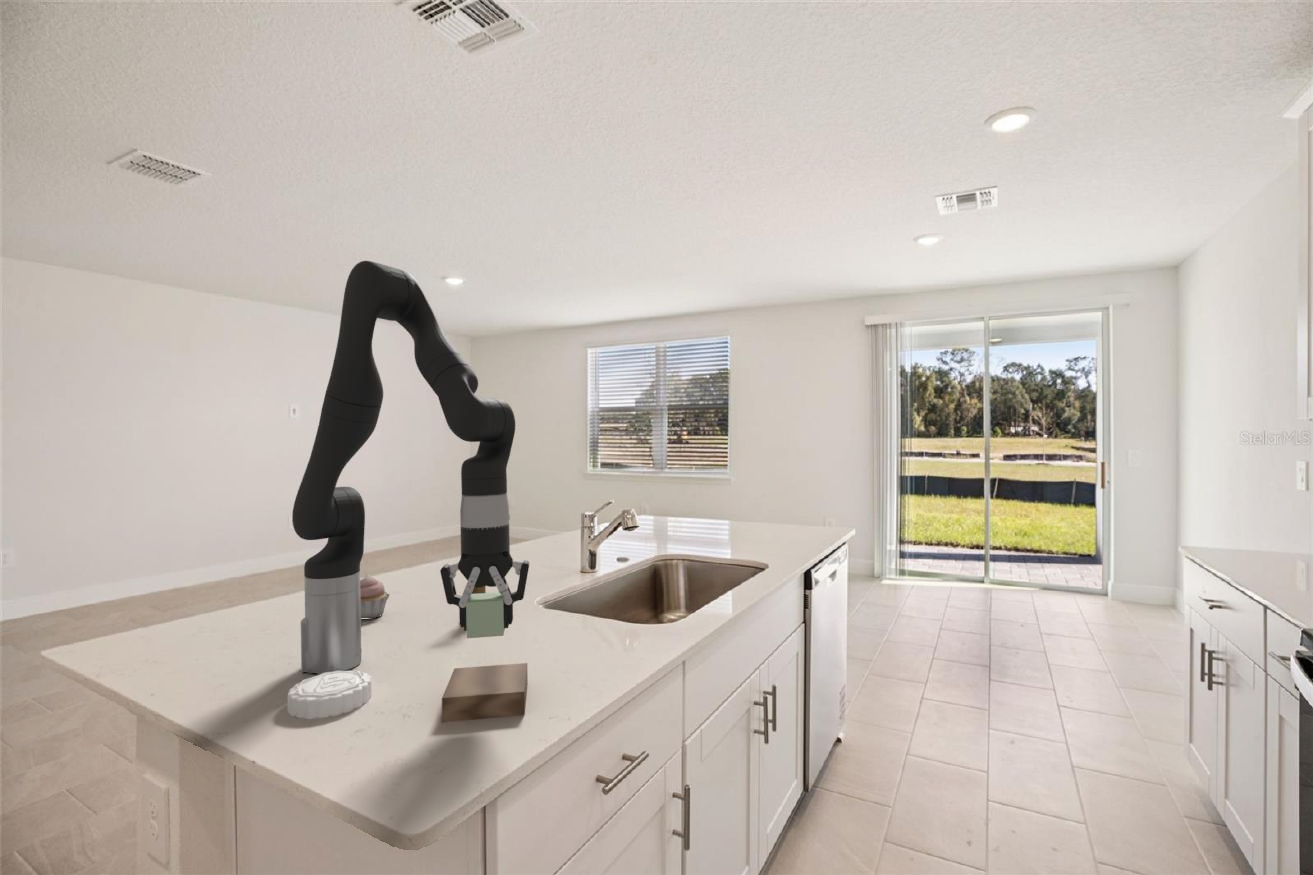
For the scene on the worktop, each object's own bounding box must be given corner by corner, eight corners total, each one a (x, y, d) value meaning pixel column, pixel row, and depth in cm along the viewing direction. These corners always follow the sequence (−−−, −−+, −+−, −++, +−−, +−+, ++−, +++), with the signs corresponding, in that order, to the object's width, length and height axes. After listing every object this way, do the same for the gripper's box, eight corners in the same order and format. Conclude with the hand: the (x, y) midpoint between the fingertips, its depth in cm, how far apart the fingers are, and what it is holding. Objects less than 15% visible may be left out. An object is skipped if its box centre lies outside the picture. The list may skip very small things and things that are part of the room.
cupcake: (376, 608, 154) (375, 568, 154) (397, 614, 149) (396, 573, 149) (338, 618, 146) (338, 576, 146) (359, 624, 141) (359, 581, 141)
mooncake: (365, 714, 96) (365, 691, 96) (277, 725, 92) (277, 701, 92) (377, 684, 107) (376, 664, 107) (299, 693, 104) (298, 672, 104)
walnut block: (442, 725, 92) (441, 698, 92) (454, 692, 104) (454, 668, 104) (524, 717, 94) (524, 691, 94) (527, 686, 106) (527, 663, 106)
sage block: (466, 638, 96) (466, 602, 96) (471, 627, 101) (470, 594, 101) (503, 635, 97) (502, 600, 97) (505, 625, 102) (505, 591, 102)
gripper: (433, 527, 94) (435, 639, 94) (530, 523, 96) (532, 632, 96) (442, 521, 101) (444, 624, 101) (531, 517, 104) (533, 618, 104)
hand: (487, 627), depth 99 cm, fingers closed on sage block, 5 cm apart
